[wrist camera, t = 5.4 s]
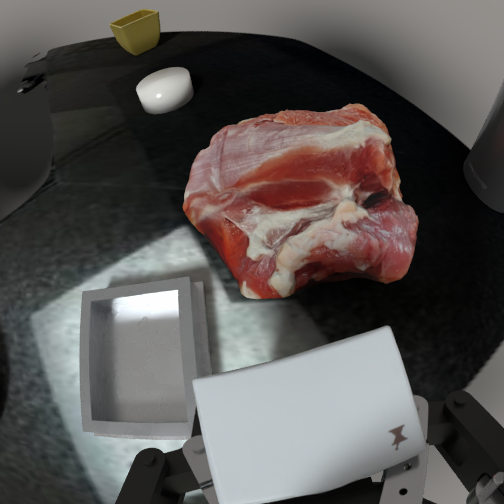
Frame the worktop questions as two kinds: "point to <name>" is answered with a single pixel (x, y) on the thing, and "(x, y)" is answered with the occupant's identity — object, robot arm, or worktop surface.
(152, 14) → the flower pot
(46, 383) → the worktop surface
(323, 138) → the meat
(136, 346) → the tray
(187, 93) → the white domed puck
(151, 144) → the worktop surface
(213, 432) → the skincare box
